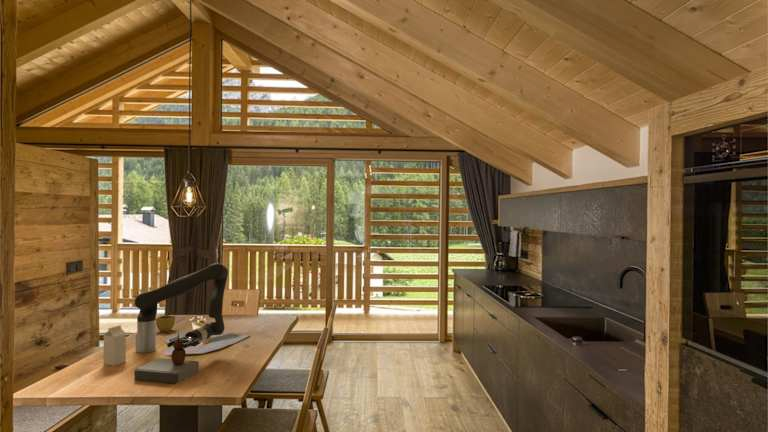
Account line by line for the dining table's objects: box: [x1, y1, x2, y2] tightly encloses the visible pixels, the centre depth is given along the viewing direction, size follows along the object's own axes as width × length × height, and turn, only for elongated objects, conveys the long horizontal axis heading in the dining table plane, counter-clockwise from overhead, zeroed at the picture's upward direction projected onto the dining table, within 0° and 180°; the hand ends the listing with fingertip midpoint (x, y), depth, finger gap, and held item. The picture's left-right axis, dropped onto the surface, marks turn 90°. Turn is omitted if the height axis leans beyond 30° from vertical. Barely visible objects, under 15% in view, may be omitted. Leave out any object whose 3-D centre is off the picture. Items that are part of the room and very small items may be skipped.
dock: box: [133, 357, 200, 385], centre depth 222 cm, size 22×17×5 cm
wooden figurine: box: [170, 332, 186, 365], centre depth 223 cm, size 7×6×15 cm
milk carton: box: [103, 324, 127, 367], centre depth 239 cm, size 7×7×19 cm
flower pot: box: [156, 314, 176, 333], centre depth 303 cm, size 9×9×9 cm
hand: (175, 345), depth 221 cm, fingers open, 8 cm apart
